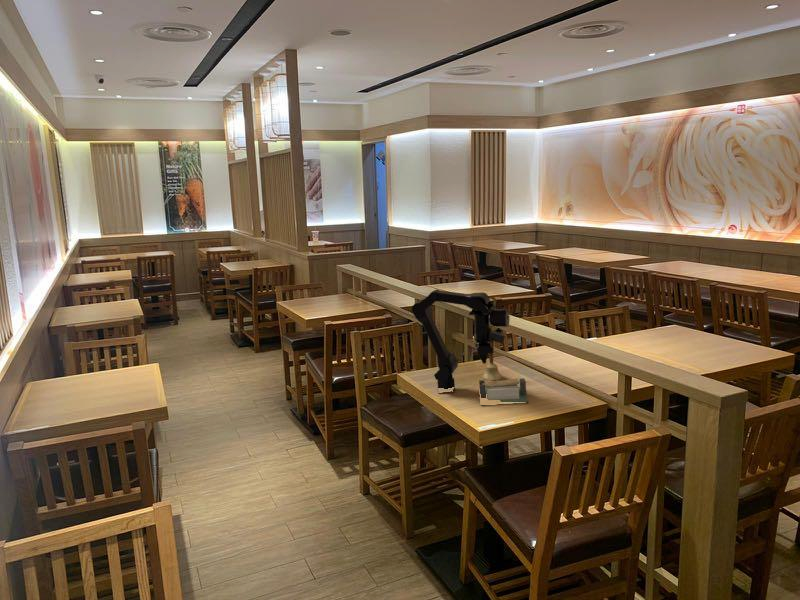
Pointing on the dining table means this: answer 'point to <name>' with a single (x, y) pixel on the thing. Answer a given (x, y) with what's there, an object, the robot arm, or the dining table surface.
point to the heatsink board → (505, 392)
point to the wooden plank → (501, 383)
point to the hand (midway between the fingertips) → (484, 363)
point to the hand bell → (492, 369)
